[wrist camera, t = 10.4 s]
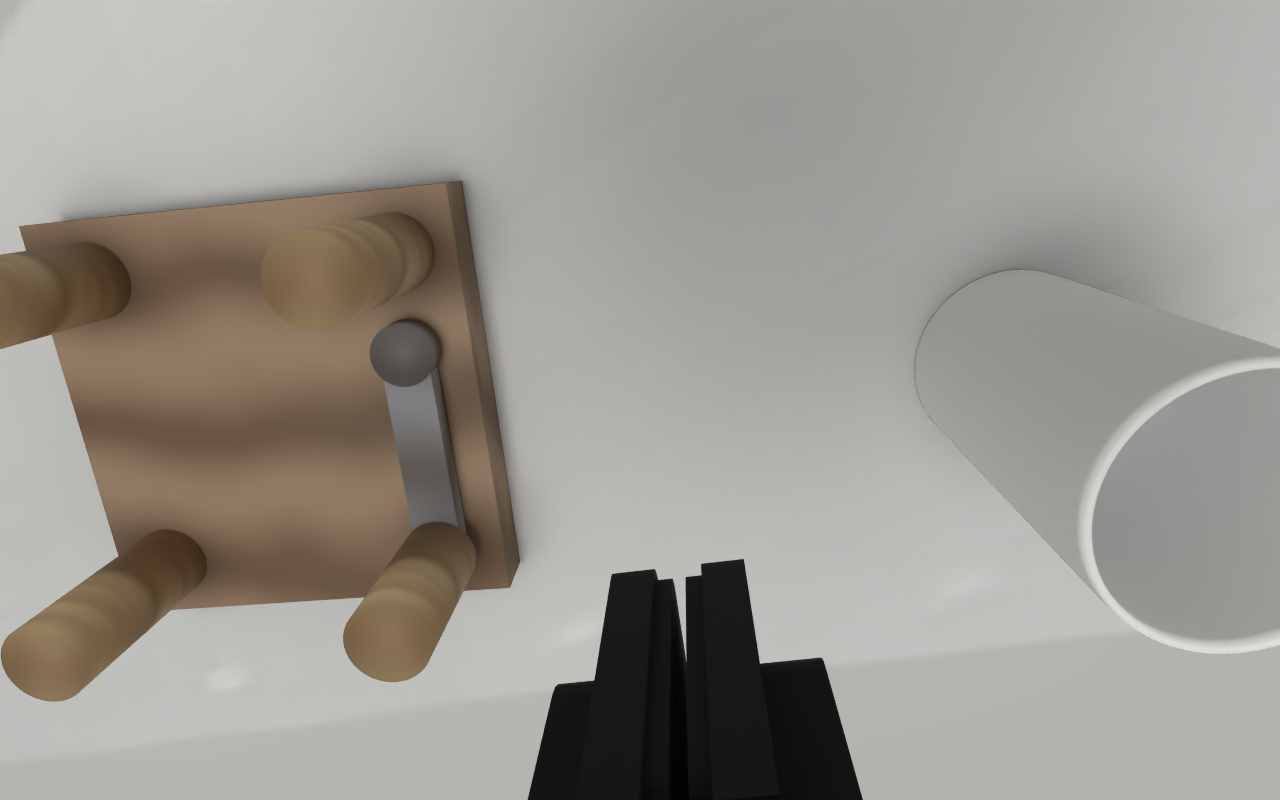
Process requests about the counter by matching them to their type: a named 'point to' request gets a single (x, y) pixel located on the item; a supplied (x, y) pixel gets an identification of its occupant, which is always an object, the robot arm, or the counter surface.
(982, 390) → the cup
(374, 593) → the hinged leg
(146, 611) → the stool seat
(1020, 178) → the counter surface
